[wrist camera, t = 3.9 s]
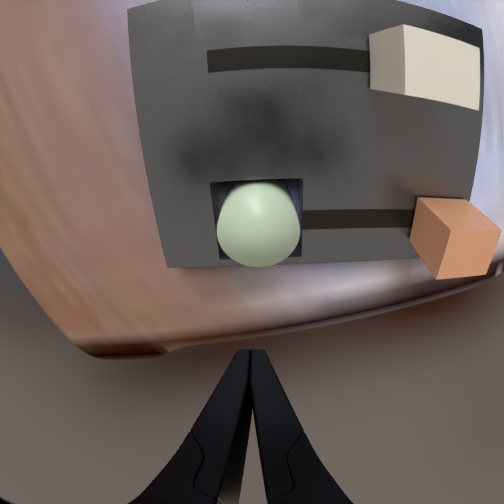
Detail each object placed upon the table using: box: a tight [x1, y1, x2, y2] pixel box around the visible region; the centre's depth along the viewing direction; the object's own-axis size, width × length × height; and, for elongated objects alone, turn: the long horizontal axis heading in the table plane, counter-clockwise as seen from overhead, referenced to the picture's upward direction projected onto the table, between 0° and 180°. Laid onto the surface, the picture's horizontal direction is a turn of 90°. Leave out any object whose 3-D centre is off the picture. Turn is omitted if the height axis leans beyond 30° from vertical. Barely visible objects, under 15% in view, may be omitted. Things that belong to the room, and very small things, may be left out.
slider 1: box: [369, 24, 480, 111], centre depth 10 cm, size 4×3×4 cm
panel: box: [127, 0, 484, 268], centre depth 15 cm, size 20×16×2 cm
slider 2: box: [409, 197, 501, 280], centre depth 15 cm, size 4×3×4 cm
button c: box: [217, 179, 300, 267], centre depth 17 cm, size 4×4×3 cm
